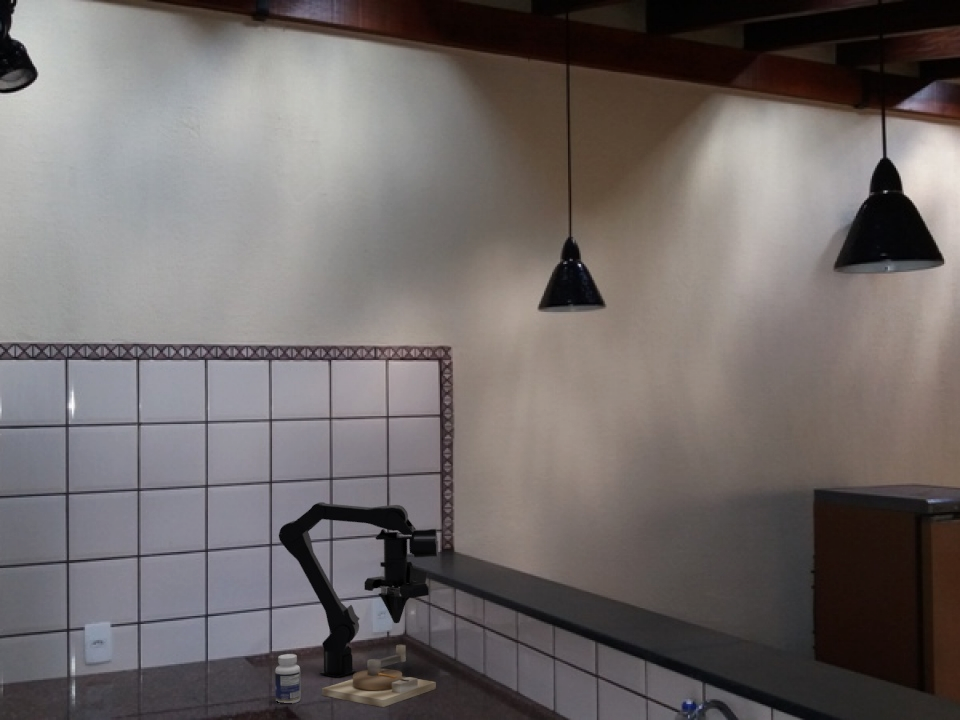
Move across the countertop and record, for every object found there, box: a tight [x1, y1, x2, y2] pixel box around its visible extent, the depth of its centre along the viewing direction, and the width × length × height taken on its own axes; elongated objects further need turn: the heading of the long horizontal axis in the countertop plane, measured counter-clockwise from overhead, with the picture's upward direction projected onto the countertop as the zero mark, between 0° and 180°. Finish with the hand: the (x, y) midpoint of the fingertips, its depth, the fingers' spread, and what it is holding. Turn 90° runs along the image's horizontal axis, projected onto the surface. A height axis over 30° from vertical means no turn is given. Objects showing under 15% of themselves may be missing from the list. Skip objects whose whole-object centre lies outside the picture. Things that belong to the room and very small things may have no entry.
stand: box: [321, 675, 437, 708], centre depth 238 cm, size 18×18×4 cm
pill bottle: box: [274, 653, 301, 704], centre depth 232 cm, size 5×5×10 cm
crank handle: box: [352, 644, 407, 690], centre depth 240 cm, size 11×16×7 cm
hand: (396, 622), depth 255 cm, fingers closed
